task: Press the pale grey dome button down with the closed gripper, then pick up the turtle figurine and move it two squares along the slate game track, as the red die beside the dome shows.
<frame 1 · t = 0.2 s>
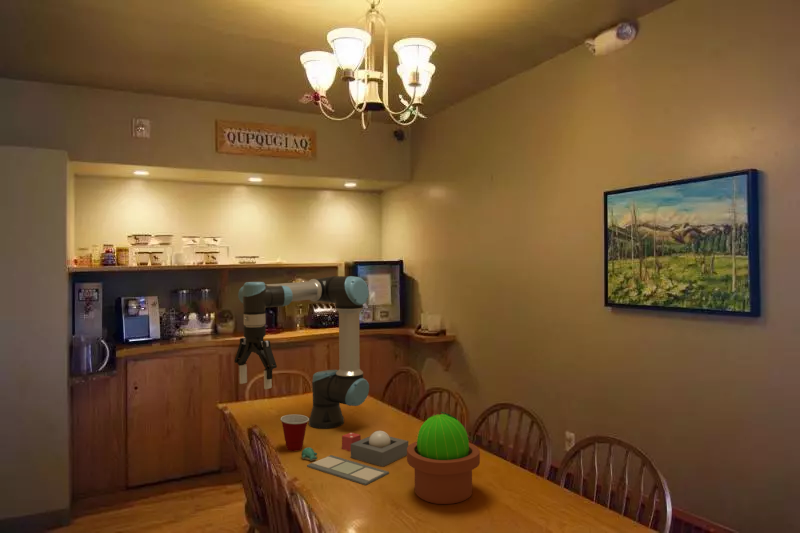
hand: (255, 385, 200), 28 cm above the table, tool pointing down, fingers open, 13 cm apart
game track: (347, 470, 194), on the table
red die: (351, 448, 216), on the table
dome collar: (379, 456, 207), on the table
turtle figurine: (309, 459, 205), on the table
plastic cup: (295, 449, 216), on the table
potted cactus: (443, 493, 175), on the table
dome button: (379, 441, 207), point 5 cm above the table, slide at 0.0 cm
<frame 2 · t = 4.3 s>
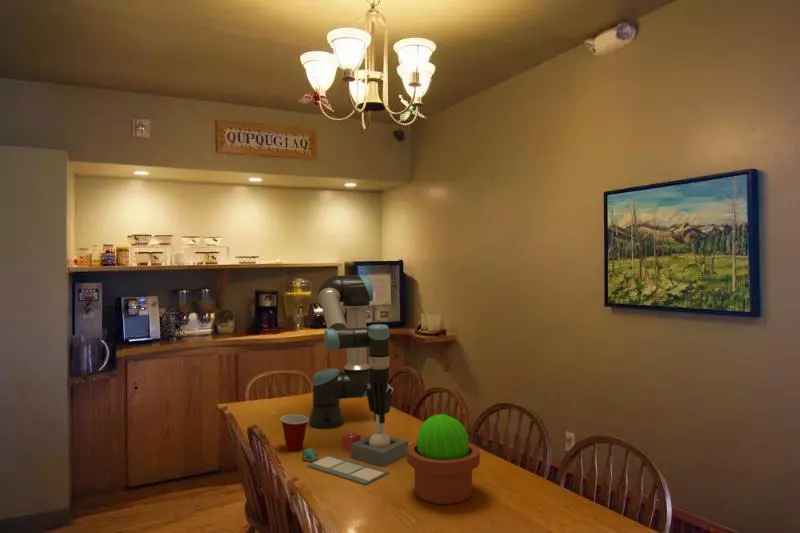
hand: (379, 431, 207), 9 cm above the table, tool pointing down, fingers closed
turtle figurine: (310, 460, 204), on the table
dome button: (379, 442, 207), point 5 cm above the table, slide at -0.4 cm, touching gripper
everything else where it was.
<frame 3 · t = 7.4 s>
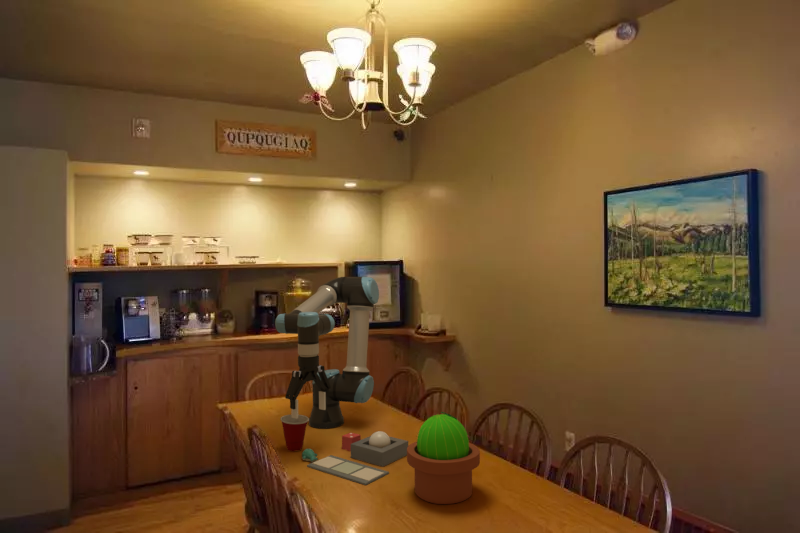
hand: (309, 413, 205), 16 cm above the table, tool pointing down, fingers open, 13 cm apart
dome button: (379, 442, 207), point 5 cm above the table, slide at -0.2 cm
everything else where it was.
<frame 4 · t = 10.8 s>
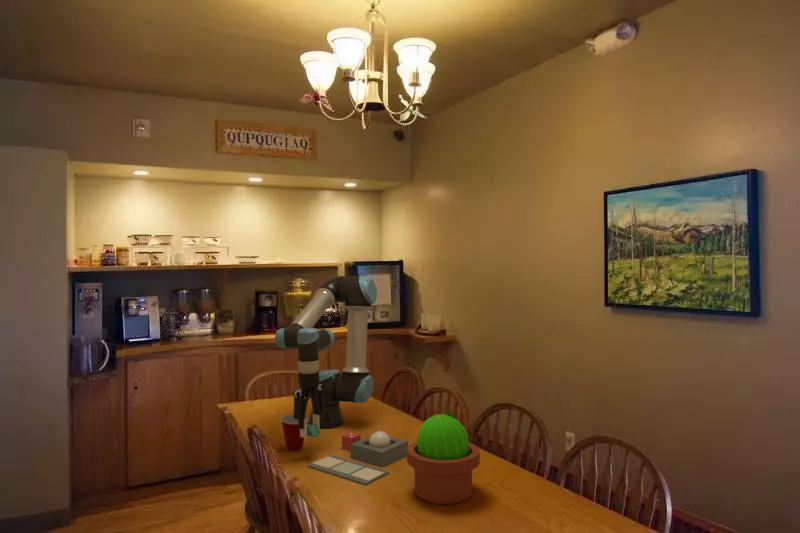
hand: (309, 434, 206), 9 cm above the table, tool pointing down, fingers closed on turtle figurine, 6 cm apart
turtle figurine: (312, 437, 205), point 8 cm above the table, touching gripper
everything else where it was.
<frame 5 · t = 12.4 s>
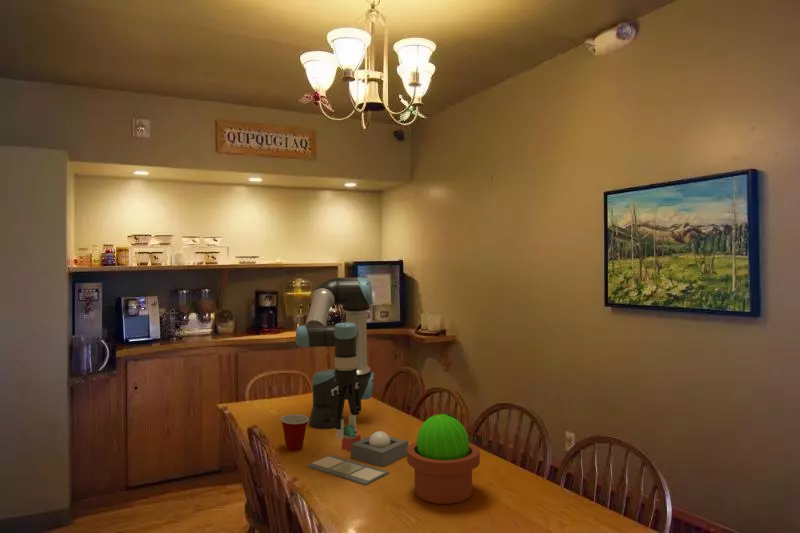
hand: (346, 435, 194), 12 cm above the table, tool pointing down, fingers closed on turtle figurine, 6 cm apart
turtle figurine: (349, 438, 193), point 11 cm above the table, touching gripper
everything else where it was.
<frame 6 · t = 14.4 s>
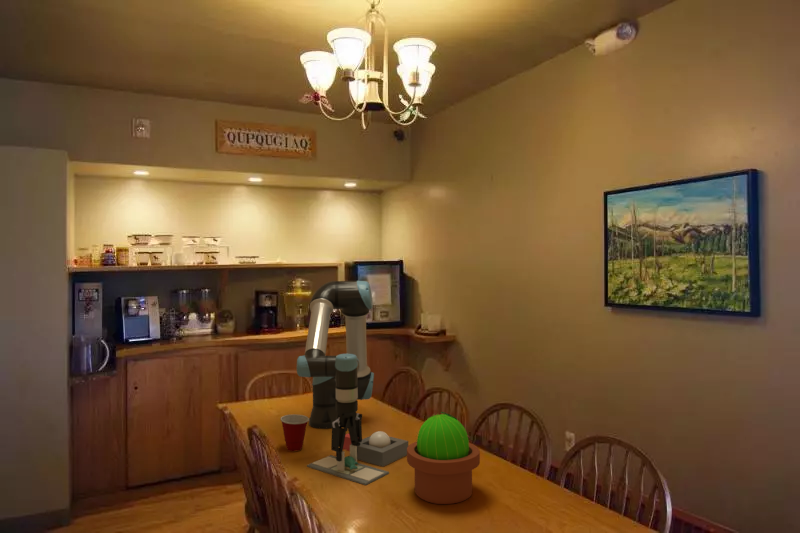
hand: (347, 466, 194), 1 cm above the table, tool pointing down, fingers closed on turtle figurine, 6 cm apart
turtle figurine: (350, 469, 193), point 1 cm above the table, touching game track, gripper
everything else where it was.
when the fingers open (1 cm above the table, at t = 14.8 s): turtle figurine stays where it is, resting on game track.
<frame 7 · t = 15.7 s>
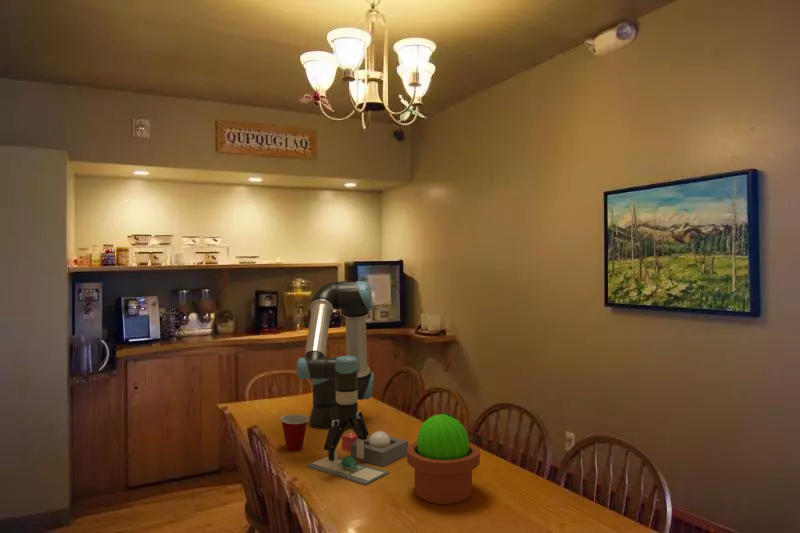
hand: (347, 463, 194), 2 cm above the table, tool pointing down, fingers open, 13 cm apart
turtle figurine: (350, 469, 193), point 1 cm above the table, touching game track
everything else where it was.
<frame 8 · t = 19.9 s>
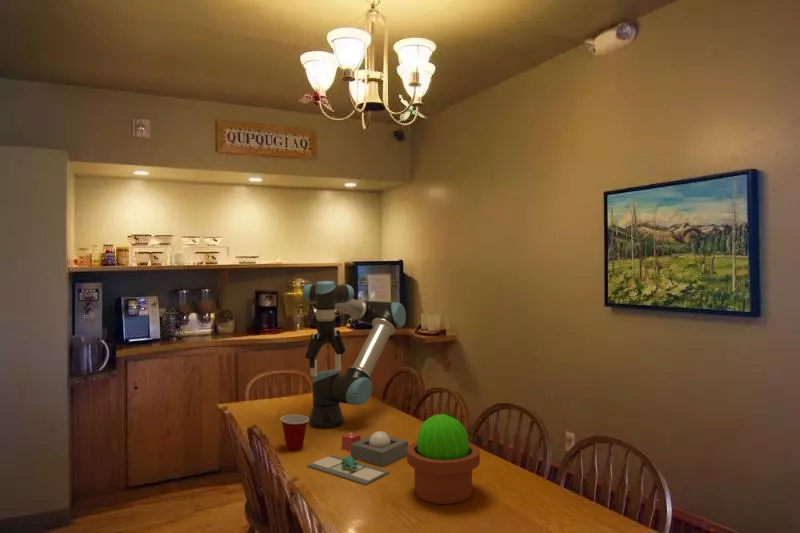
hand: (326, 373, 226), 27 cm above the table, tool pointing down, fingers open, 13 cm apart
nothing on the table moved.
at the end: turtle figurine inside the target area on the game track (1.5 cm from its centre), point 0.6 cm above the game track's base; turtle figurine tilted 0°; the gripper is holding nothing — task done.
